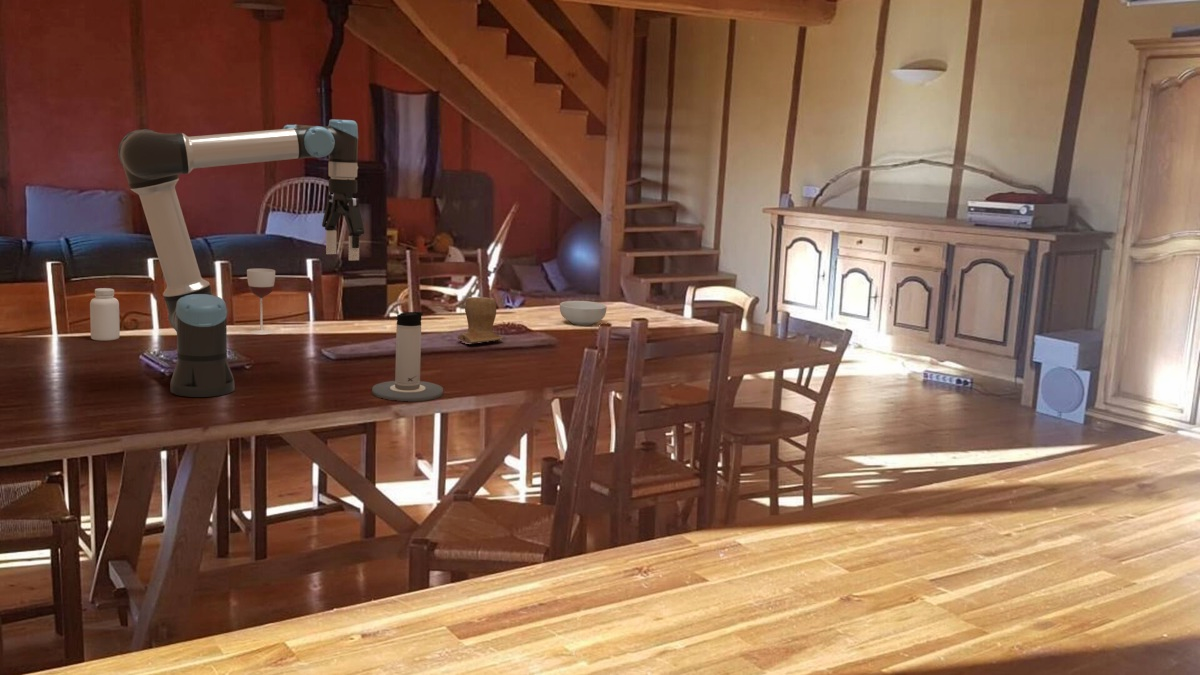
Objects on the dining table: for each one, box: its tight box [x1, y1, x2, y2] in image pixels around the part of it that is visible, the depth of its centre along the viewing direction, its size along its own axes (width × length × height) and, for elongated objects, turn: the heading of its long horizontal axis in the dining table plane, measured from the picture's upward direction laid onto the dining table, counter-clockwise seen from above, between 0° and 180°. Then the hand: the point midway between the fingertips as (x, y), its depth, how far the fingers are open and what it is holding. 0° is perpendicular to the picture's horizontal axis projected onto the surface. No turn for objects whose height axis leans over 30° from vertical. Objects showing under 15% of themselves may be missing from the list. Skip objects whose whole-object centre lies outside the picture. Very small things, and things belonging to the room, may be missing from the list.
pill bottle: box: [89, 287, 121, 342], centre depth 326 cm, size 8×8×15 cm
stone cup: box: [457, 296, 504, 343], centre depth 351 cm, size 15×12×15 cm
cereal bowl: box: [559, 300, 607, 326], centre depth 396 cm, size 17×17×7 cm
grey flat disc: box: [371, 380, 444, 403], centre depth 282 cm, size 18×18×1 cm
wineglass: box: [246, 268, 276, 335], centre depth 347 cm, size 8×9×20 cm
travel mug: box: [394, 311, 424, 390], centre depth 280 cm, size 6×7×20 cm
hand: (342, 257), depth 296 cm, fingers open, 13 cm apart
